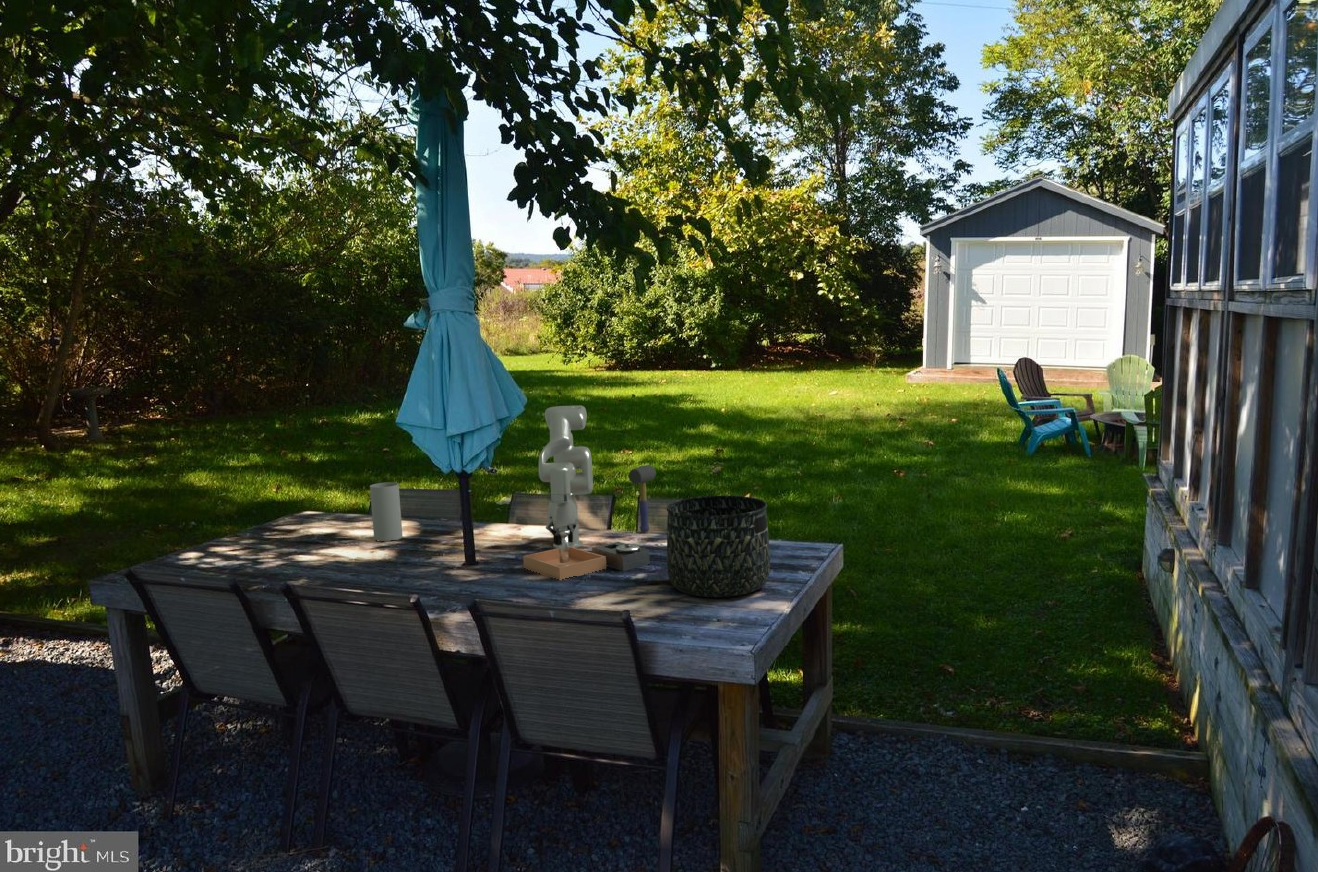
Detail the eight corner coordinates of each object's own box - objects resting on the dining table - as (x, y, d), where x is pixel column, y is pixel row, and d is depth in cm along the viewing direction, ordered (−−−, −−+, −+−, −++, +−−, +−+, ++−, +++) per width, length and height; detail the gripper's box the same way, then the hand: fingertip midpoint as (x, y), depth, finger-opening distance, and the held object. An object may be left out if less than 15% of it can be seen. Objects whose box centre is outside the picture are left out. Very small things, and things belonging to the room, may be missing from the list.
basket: (708, 568, 392) (706, 491, 388) (790, 582, 369) (788, 500, 365) (647, 591, 364) (643, 509, 360) (731, 608, 341) (728, 520, 337)
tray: (523, 568, 403) (523, 555, 403) (569, 557, 417) (568, 545, 416) (560, 580, 384) (559, 567, 383) (606, 569, 397) (605, 556, 396)
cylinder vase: (368, 541, 460) (364, 487, 457) (383, 535, 472) (379, 482, 469) (393, 542, 456) (388, 487, 453) (407, 536, 468) (403, 482, 465)
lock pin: (554, 561, 400) (553, 530, 399) (566, 559, 404) (564, 528, 402) (562, 564, 396) (561, 532, 394) (574, 561, 400) (572, 530, 398)
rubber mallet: (643, 536, 450) (641, 468, 446) (630, 534, 454) (627, 467, 450) (659, 530, 460) (656, 464, 456) (645, 528, 464) (643, 463, 460)
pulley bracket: (592, 562, 409) (591, 541, 408) (618, 556, 417) (617, 535, 416) (623, 571, 393) (622, 549, 392) (649, 564, 401) (648, 543, 400)
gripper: (573, 493, 405) (576, 537, 407) (537, 499, 394) (539, 545, 397) (584, 495, 399) (586, 540, 401) (547, 502, 388) (550, 549, 391)
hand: (563, 542), depth 399 cm, fingers closed on lock pin, 5 cm apart
